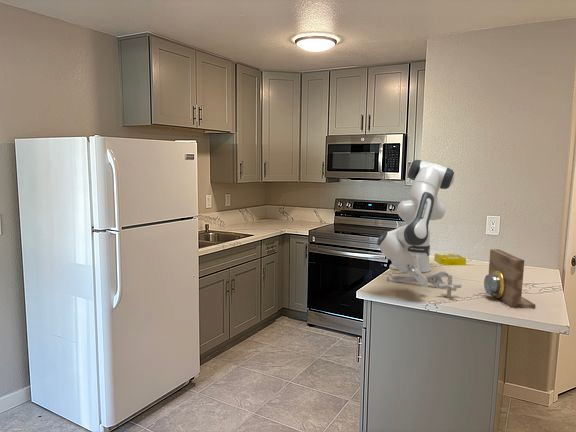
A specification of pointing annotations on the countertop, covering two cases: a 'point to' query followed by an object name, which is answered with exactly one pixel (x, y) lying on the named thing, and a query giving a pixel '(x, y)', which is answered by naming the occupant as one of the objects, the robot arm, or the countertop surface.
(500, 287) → the door knob
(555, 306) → the countertop surface
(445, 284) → the pipe connector
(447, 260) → the element tile
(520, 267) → the board
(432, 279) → the wrench
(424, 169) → the robot arm
